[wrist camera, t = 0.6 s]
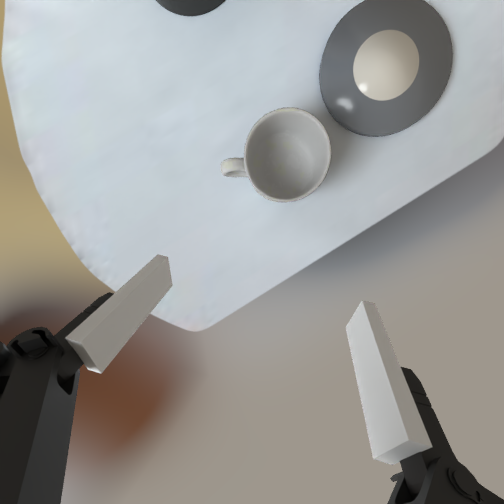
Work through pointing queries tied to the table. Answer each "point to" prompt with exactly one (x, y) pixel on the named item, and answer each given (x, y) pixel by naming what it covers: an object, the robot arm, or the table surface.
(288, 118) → the teacup
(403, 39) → the saucer
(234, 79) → the table surface
